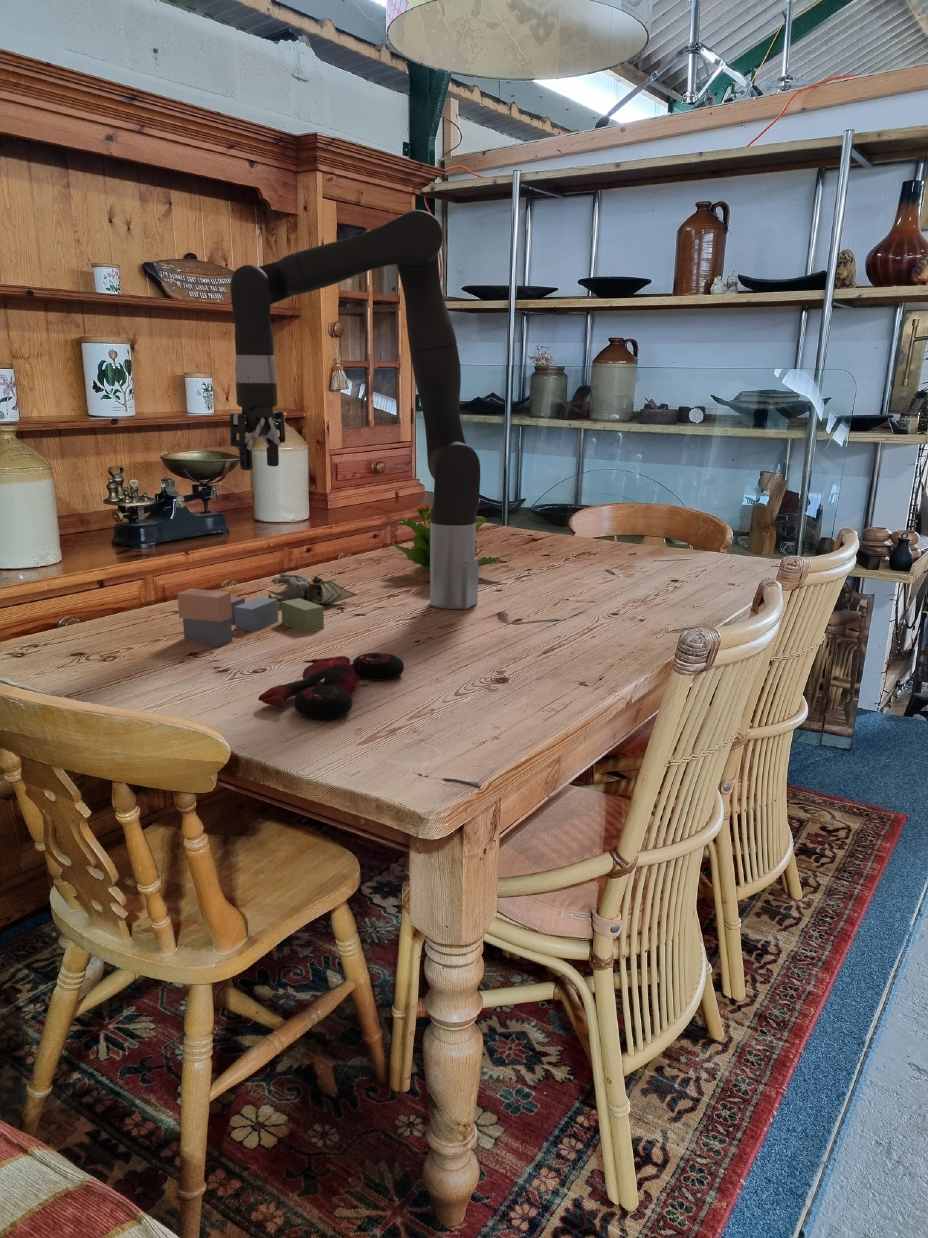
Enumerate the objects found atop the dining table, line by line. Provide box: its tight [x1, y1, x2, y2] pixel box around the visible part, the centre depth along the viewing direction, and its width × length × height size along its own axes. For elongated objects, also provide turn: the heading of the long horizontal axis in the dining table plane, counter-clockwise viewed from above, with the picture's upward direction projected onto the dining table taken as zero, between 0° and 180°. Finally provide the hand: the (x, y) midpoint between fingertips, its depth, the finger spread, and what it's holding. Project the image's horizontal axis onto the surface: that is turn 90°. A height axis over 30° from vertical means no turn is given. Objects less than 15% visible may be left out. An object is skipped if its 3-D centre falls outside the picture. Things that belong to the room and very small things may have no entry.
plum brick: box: [230, 595, 246, 625], centre depth 167 cm, size 8×4×4 cm, turn 67°
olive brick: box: [280, 598, 325, 633], centre depth 164 cm, size 8×4×4 cm, turn 43°
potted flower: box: [391, 504, 502, 571], centre depth 205 cm, size 25×24×18 cm
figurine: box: [267, 571, 358, 605], centre depth 181 cm, size 20×6×17 cm
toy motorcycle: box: [257, 651, 405, 721], centre depth 131 cm, size 25×5×16 cm
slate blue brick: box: [234, 596, 279, 633], centre depth 164 cm, size 8×4×4 cm, turn 158°
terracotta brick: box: [177, 588, 232, 622], centre depth 153 cm, size 8×4×4 cm, turn 73°
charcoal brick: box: [182, 618, 233, 648], centre depth 154 cm, size 8×4×4 cm, turn 55°
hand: (260, 467), depth 168 cm, fingers open, 8 cm apart
